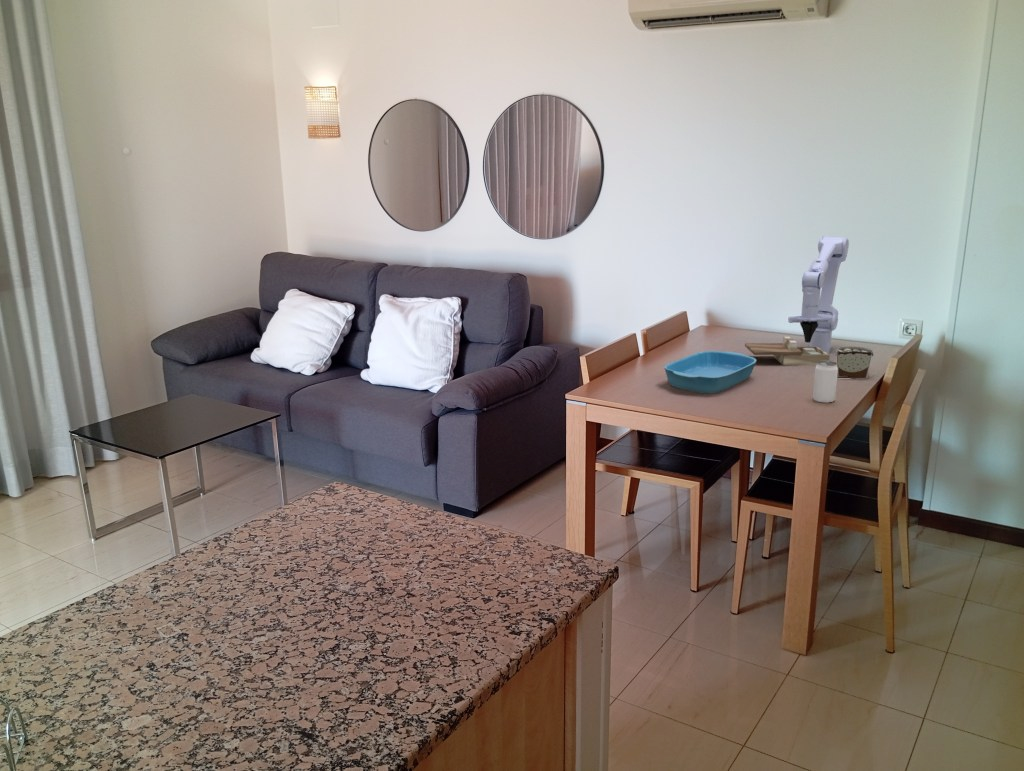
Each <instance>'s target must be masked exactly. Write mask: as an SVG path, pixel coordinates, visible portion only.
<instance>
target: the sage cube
mask: <svg viewBox="0 0 1024 771" xmlns="http://www.w3.org/2000/svg"><path fill="white" fill-rule="evenodd" d="M817 354H821V353H818V352H816V351H814V352H807V353H806V355H817Z"/></svg>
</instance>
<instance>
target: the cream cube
mask: <svg viewBox="0 0 1024 771" xmlns="http://www.w3.org/2000/svg"><path fill="white" fill-rule="evenodd" d="M814 351H816V350H815V349H814V348H803V355H806V353H807V352H814Z"/></svg>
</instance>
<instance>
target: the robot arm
mask: <svg viewBox="0 0 1024 771" xmlns="http://www.w3.org/2000/svg"><path fill="white" fill-rule="evenodd" d="M849 244H850V242H849V239H848V237H847V236H845V237H838V236H837V237H835V236H824V235H823V236H821V237H820V238H819V239H818V243H817V250H818V254H819V255H818V257H817V258H816V259H814V260H813V261H812V263H811V265H810V267H809V268H808V270H807V271H806V272H803V273H802V277H801V286H802V288H801V289H802V292H801V293H802V304H801V305H802V306H801V315H796V316H788V323H789V324H793V323H799V324H800V327H801V330H802V332H803V337H804V342H805V343H807V347H819V348H820V349H822V350H823V351H824V352H826V353H827V354H829V353H831V345H832V334H833V331H835V330H836V329H837V327H838V321H839V311H838V309H836V308H835V307H834V305H833V301H834V296H835V290H836V286H837V280H838V275H839V270H840V266H841V263H842V262H845V261H846V260H847V257H848V251H849V246H850V245H849Z"/></svg>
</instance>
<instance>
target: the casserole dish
mask: <svg viewBox="0 0 1024 771" xmlns="http://www.w3.org/2000/svg"><path fill="white" fill-rule="evenodd" d="M756 364H757V359H756V358H755V357H753V356H750V355H746V354H744V353H740V352H734V351H723V350H722V351H719V350H705V351H700V352H695V353H693V354H690V355H687V356H684V357H681V358H680V359H677V360H674V361H672V362H668V363H667V364H666V365H664V371H665V375H666V377H667V381H668V382H669V384H670V385H671V386H672V387H673V386H674V387H673V388H676V389H679V388H680V389H679V390H684V391H689V392H693V393H694V392H695V393H701V394H715V393H720V392H722V391H724V390H727V389H729V388H732V387H733V386H735V385H738V384H740V383H742V382H743V381H744V380H745V381H746V380H747V379H748V378H749V377H750V376H751V374H752V373H753V370H754V368H755V365H756Z"/></svg>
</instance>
